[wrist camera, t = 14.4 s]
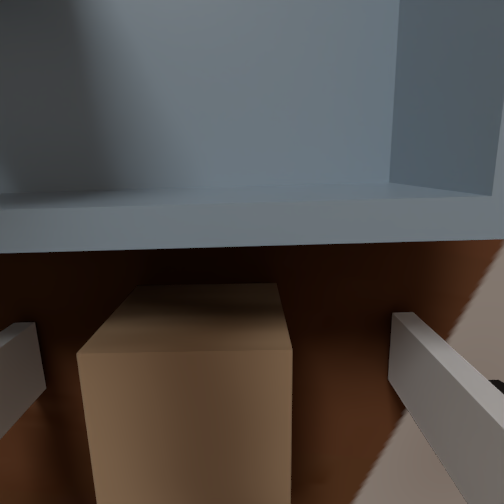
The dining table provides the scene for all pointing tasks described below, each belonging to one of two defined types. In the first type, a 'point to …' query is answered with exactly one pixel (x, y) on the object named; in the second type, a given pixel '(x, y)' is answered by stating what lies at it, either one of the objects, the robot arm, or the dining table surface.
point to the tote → (249, 123)
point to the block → (190, 397)
